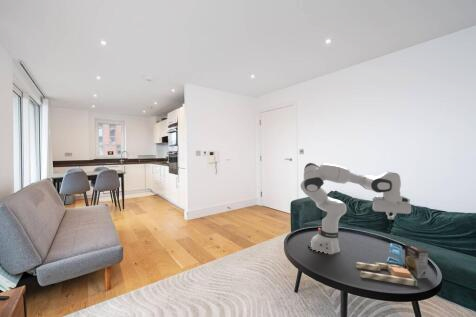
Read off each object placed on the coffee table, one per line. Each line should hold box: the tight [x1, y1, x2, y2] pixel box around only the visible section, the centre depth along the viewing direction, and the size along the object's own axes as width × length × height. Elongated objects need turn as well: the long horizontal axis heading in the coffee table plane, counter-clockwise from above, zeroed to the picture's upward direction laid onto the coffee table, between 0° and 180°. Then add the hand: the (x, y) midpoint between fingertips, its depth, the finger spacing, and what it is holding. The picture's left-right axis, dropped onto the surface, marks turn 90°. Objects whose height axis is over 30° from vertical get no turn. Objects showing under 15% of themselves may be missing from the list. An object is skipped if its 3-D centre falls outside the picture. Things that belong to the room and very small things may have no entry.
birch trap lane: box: [355, 261, 418, 287], centre depth 126 cm, size 27×16×3 cm, turn 72°
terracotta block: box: [390, 267, 411, 279], centre depth 122 cm, size 8×5×5 cm, turn 73°
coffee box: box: [403, 244, 429, 279], centre depth 126 cm, size 9×6×16 cm
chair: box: [386, 242, 404, 266], centre depth 139 cm, size 8×8×12 cm
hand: (390, 219), depth 133 cm, fingers closed
